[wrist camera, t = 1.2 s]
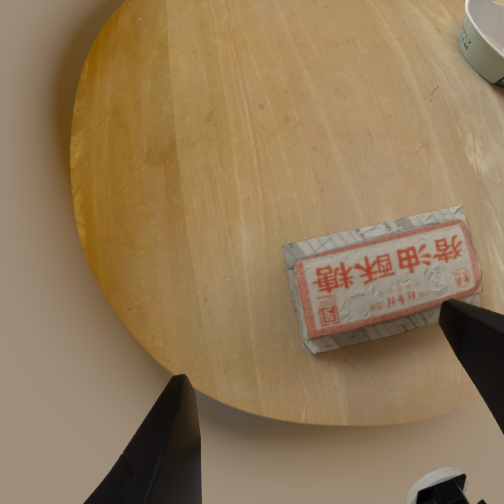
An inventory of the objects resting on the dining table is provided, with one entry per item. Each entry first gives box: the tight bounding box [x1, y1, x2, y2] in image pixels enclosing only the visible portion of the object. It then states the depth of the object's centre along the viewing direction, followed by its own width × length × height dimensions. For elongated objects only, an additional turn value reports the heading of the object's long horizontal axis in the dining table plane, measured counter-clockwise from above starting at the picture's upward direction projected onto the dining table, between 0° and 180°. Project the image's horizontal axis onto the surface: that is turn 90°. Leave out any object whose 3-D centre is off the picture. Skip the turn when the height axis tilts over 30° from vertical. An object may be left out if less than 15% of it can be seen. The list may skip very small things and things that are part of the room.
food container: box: [459, 0, 504, 87], centre depth 20 cm, size 12×12×6 cm
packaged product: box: [282, 205, 482, 355], centre depth 24 cm, size 18×5×10 cm
